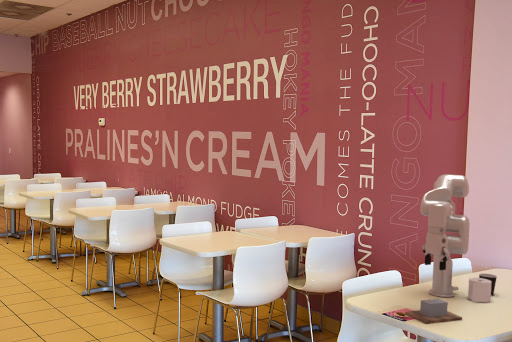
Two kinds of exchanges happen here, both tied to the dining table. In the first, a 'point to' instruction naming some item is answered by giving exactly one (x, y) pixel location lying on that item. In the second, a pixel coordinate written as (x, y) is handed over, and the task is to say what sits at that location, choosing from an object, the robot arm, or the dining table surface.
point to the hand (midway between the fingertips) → (434, 267)
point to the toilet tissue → (479, 290)
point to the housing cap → (433, 307)
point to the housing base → (430, 320)
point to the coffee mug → (491, 278)
